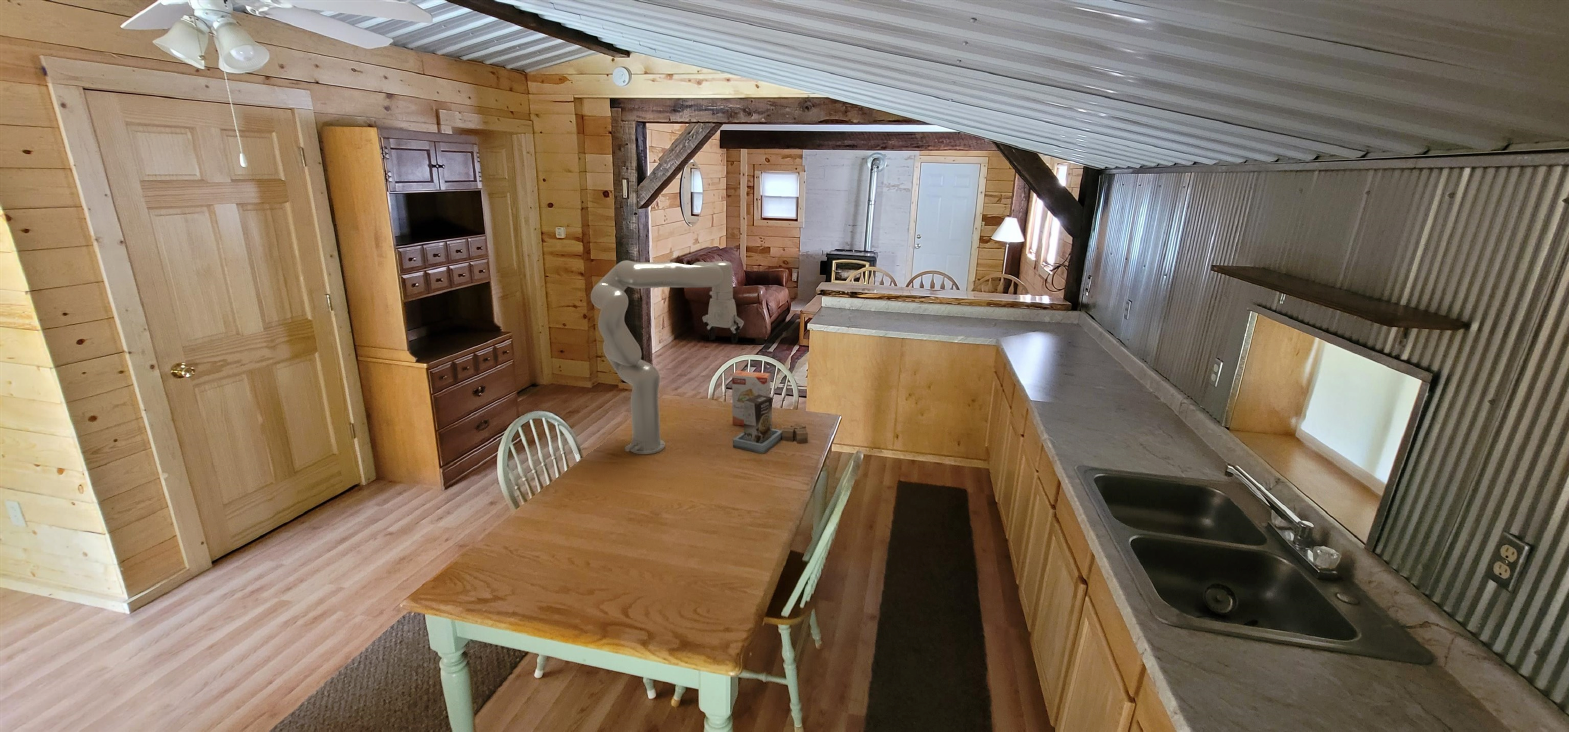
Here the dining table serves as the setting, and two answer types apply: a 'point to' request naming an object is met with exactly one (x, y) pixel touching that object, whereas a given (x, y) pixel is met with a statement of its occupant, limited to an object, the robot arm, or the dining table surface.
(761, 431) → the coffee box
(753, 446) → the tray
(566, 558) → the dining table surface
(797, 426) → the walnut block
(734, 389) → the cracker box
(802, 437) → the walnut block
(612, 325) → the robot arm
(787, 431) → the walnut block
